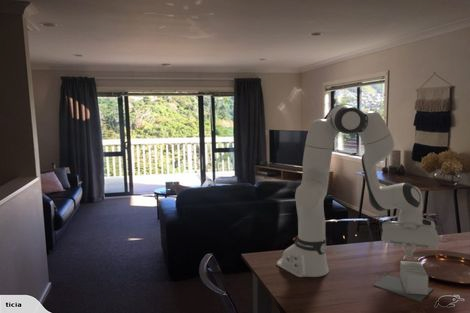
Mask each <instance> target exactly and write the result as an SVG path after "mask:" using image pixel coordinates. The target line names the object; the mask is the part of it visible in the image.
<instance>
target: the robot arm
mask: <svg viewBox="0 0 470 313" xmlns="http://www.w3.org/2000/svg"><path fill="white" fill-rule="evenodd" d="M340 133H342V134H345V135H351V134H357V135H358V136H359V137H360V141H361V142H362V145H363V149H364V150H363V151H364V153H363V154H362V155H361V166H362V169H363V170H362V171H363V175H364V179H365V183H366V186H367V192H368V200H369V204H370V206H371V207H372V208H373V209H374V210H376V211H378V212H383V211H388V210H394V209H399V213H398V220H397V221H389V220H387V221H383V223H382V224H381V229H382V233H381V241H382V242H383V243H384V244H392V245H399V246H401V249H402V250H403V251H404V256H406V257H407V256H408V257H413V256H414V252H415V251H416V250H417V248H421V249H430V250H437V249H438V248H439V235H438V231H437V229H436V223H435V222H434V221H432V220H429V219H428V218H424V217H423V213H422V212H423V210H424V200H423V199H424V198H423V193H422V191H421V189H420V188H419V187H417V186H414V185H412V184H410V183H408V182H400V183H395V184H391V185H385V186H382V185H381V184H380V181H379V176H378V172H377V170H376V169H377V166H378V164H380V163H382V162H383V161H385V160H386V159H387V158H388V157H389V156H390V155H392V153H393V150H394V148H395V141H394V138H393V136H392V134H391V133H392V132H391V131H390V128H389V127H388V124H387V123H386V121H385V120H384V118H383V117H382V115H381V113H380V112H378V111H374V110H371V111H365V112H364V111H362V110H361V109H359V108H358V107H356V106H353V105H350V104H347V103H346V104H345V103H343V104H337V105H335V106H333V107H332V108H331V109H330V110H329V111H328V112H327V114H326V115H325V116H324V118H318V119H314V120H313V121H312V122H311V123H310V126H309V127H308V132H307V135H306V139H305V143H304V144H305V145H304V150H303V158H302V175H301V176H302V177H301V182H300V185H299V186H298V187H297V188H296V189H295V194H294V199H295V200H294V201H295V206H296V214H297V228H298V229H297V230H298V231H297V233H298V235H296V236H295V237H293V238H292V241H294V243H293V244H292V245H290V246H289V247H287V248H285V250H284V251H283V253H282V257H281V258H280V259H278V261H276V266H278V267H280V268H281V269H283V270H285V271H287V272H288V273H291V274H292V275H294V276H296V277H297V278H298V277H299V278H303V277H305V278H306V277H308V278H309V277H310V278H318V277H323V276H325V275H326V276H327V275H328V274H329V272H330V269H329V266H328V261H327V255H326V251H327V237H326V217H325V209H324V208H325V207H324V201H325V197H326V196H327V194H328V188H329V179H330V169H331V162H332V156H333V151H334V150H333V149H334V142H335V140H336V137H337V135H339V134H340ZM407 247H411V249H410V250H409V249H407Z"/></svg>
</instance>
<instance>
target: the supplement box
mask: <svg viewBox="0 0 470 313" xmlns="http://www.w3.org/2000/svg"><path fill="white" fill-rule="evenodd" d="M399 278H400V279H401V281H402V284H403V286H404V289H405V291H406V293H411V294H422V295H427V296H428V295H429V294H428V288H429V275H428V273H427V271H426V270H425V268H424V266H423V265H422V263H421V262H419V261H406V260H405V261H403V260H400V264H399Z"/></svg>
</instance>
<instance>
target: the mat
mask: <svg viewBox="0 0 470 313" xmlns="http://www.w3.org/2000/svg"><path fill="white" fill-rule="evenodd" d="M373 286H374V287H377V288H379V289H382V290H385V291H388V292H391V293H394V294H397V295H400V296H402V297H405V298H408V299H411V300H414V301H417V302H419V303H421V302H422V301H423V300H424V299H426V298H427V296H428V295H429V294H430V293H431V292H432V291H433V290H434V289H433V288H431V287H428V295H422V294H411V293H406V291H405V289H404V286H403V284H402V281H401V279H400V277H397V276H393V275H390V274H387V275H385V276H384V277H382V278H381V279H379V280H378V281H377V282H375V283H374V284H373Z"/></svg>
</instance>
